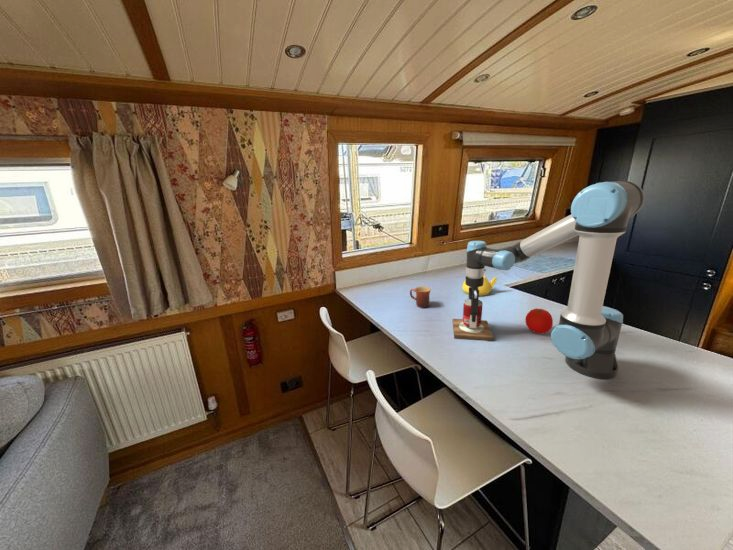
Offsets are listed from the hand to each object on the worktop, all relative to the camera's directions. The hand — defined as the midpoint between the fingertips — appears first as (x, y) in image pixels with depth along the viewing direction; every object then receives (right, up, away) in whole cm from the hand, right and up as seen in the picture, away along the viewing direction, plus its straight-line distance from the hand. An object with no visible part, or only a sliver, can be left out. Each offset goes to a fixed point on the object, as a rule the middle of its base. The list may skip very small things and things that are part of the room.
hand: (471, 323), depth 132 cm
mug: (-18, +5, +32) cm, 37 cm away
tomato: (+29, -3, -2) cm, 30 cm away
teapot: (+22, +12, +48) cm, 54 cm away
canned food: (0, 0, 0) cm, 0 cm away
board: (0, -4, +1) cm, 4 cm away
